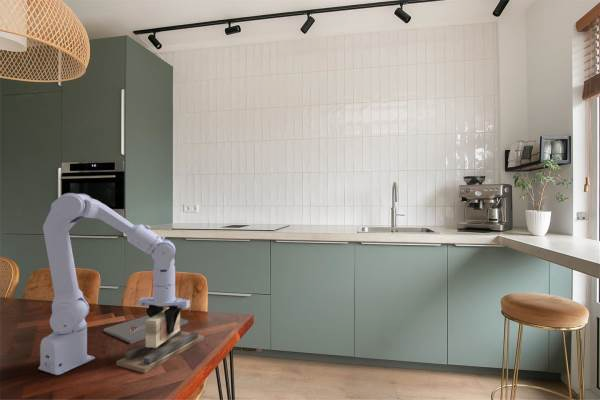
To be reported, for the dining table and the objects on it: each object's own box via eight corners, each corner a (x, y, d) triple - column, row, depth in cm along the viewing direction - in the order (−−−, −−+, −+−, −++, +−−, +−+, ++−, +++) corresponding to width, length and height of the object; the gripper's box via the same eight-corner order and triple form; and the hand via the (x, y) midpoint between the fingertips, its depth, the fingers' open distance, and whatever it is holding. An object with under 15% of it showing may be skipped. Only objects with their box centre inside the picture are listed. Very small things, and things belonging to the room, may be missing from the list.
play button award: (187, 320, 115) (130, 340, 99) (187, 324, 115) (130, 345, 99) (160, 311, 125) (103, 328, 108) (160, 315, 125) (103, 333, 108)
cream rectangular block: (156, 347, 88) (156, 321, 88) (145, 347, 88) (145, 320, 88) (180, 330, 100) (180, 306, 100) (170, 329, 100) (170, 306, 100)
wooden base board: (144, 373, 82) (144, 362, 82) (116, 365, 86) (116, 355, 86) (204, 339, 102) (204, 330, 102) (179, 333, 106) (179, 326, 106)
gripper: (195, 281, 97) (195, 328, 97) (149, 279, 99) (149, 325, 99) (182, 287, 90) (182, 338, 90) (133, 285, 92) (133, 334, 92)
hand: (164, 332), depth 94 cm, fingers closed on cream rectangular block, 3 cm apart
